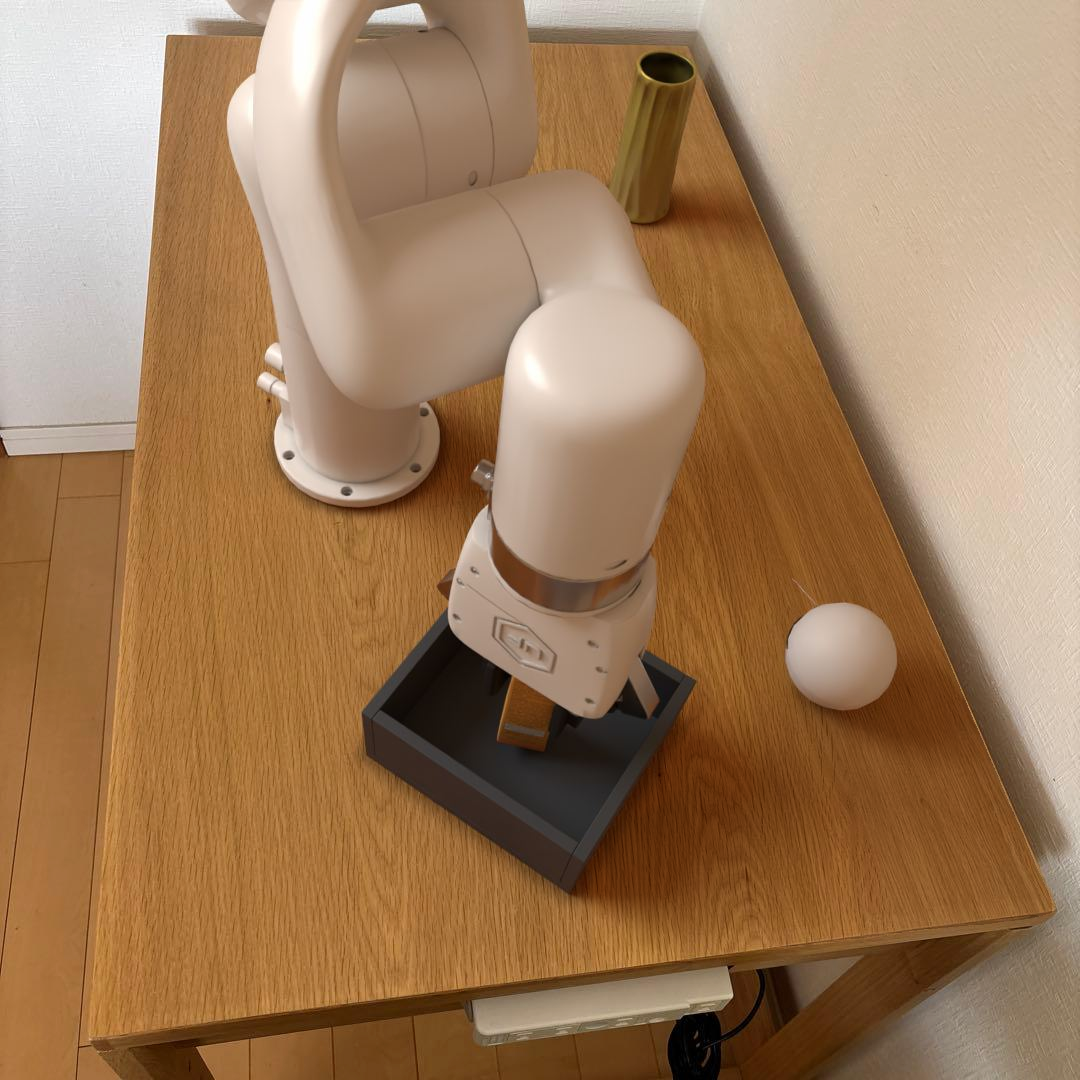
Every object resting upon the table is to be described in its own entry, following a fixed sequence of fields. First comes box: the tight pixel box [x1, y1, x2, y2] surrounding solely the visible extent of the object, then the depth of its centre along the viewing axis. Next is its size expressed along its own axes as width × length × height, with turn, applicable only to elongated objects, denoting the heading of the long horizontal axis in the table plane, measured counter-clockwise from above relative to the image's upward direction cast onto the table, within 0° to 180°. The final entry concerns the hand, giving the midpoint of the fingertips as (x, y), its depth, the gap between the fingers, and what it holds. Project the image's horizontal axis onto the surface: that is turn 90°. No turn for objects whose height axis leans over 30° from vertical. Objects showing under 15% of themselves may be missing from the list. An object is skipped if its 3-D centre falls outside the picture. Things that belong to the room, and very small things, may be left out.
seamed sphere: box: [784, 578, 898, 711], centre depth 70 cm, size 10×7×7 cm
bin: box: [360, 606, 698, 894], centre depth 65 cm, size 16×14×7 cm
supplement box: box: [497, 676, 556, 751], centre depth 62 cm, size 3×3×10 cm
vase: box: [608, 48, 698, 225], centre depth 93 cm, size 6×6×14 cm
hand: (533, 695), depth 62 cm, fingers closed on supplement box, 3 cm apart
